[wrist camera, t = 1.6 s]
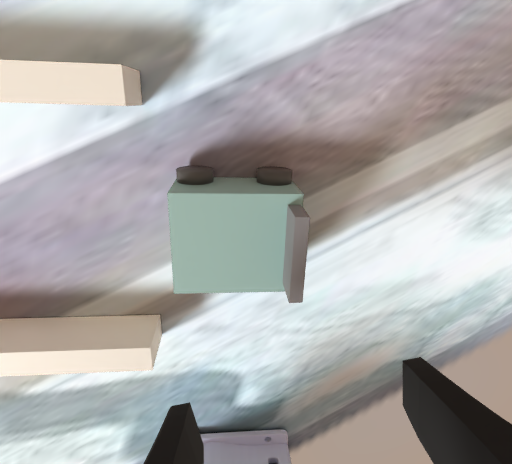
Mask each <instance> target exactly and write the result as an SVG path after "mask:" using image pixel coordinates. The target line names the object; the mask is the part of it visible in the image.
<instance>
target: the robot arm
mask: <svg viewBox="0 0 512 464" xmlns="http://www.w3.org/2000/svg"><path fill="white" fill-rule="evenodd" d="M403 406H404V409H405V411H406V413H407V415H408V418H409V420H410V422H411V424H412V426H413V428H414V430H415V432H416V434H417V436H418V438H419V440H420V442H421V443H422V445H423V446H424V448H425V450H426V451H427V453H428V455H429V457H430V458H431V460H432V462H433V463H434V464H512V424H510V423H509V422H507V421H506V420H504V419H503V418H501V417H500V416H499V415H497V414H496V413H494V412H493V411H491V410H490V409H489V408H487V407H486V406H485V405H483V404H482V403H480V402H479V401H478V400H476V399H475V398H473V397H472V396H470V395H469V394H468V393H467V392H465V391H464V390H463V389H461V388H460V387H459V386H457V385H456V384H455V383H453V382H452V381H451V380H449V379H448V378H447V377H446V376H444V375H443V374H442V373H440V372H439V371H438V370H437V369H435V368H434V367H433V366H431V365H430V364H429V363H428V362H426V361H425V360H424V359H422V358H421V357H419V358H414V359H409V360H404V361H403ZM144 464H291V460H290V454H289V449H288V434H287V431H286V430H283V429H277V430H260V431H243V432H226V433H209V434H200V432H199V429H198V426H197V423H196V420H195V417H194V414H193V411H192V408H191V405H190V403H185V404H180V405H175V406H171V408H170V409H169V411H168V413H167V416H166V418H165V420H164V422H163V425H162V427H161V429H160V431H159V433H158V435H157V438H156V440H155V442H154V444H153V446H152V448H151V450H150V452H149V454H148V456H147V458H146V460H145V462H144Z"/></svg>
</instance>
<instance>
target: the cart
mask: <svg viewBox="0 0 512 464" xmlns="http://www.w3.org/2000/svg"><path fill="white" fill-rule="evenodd" d="M176 171H177V179H176V180H175V182H174V183H173V185H172V187H171V188H170V190H169V191H168V193H167V195H168V210H169V225H170V241H171V256H172V271H173V286H174V294H185V293H233V292H281V291H285V292H286V295H287V298H288V301H289V303H300V302H302V301H303V289H304V278H305V267H306V256H307V245H308V234H309V223H310V217H309V215H308V214H307V213H306V211H305V210H304V209H303V196H304V194H303V193H302V192H301V190H300V189H299V188H298V187H297V186H296V185H295V184H294V182H293V181H292V170H291V169H287V168H281V167H262V168H258V169H257V178H233V177H213V168H210V167H205V166H185V167H179V168H177V169H176Z"/></svg>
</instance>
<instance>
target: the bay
mask: <svg viewBox="0 0 512 464" xmlns="http://www.w3.org/2000/svg"><path fill="white" fill-rule="evenodd" d="M0 102H11V103H45V104H80V105H114V106H135V105H142V95H141V83H140V71H138V70H135V69H132V68H130V67H127V66H124V65H122V64H97V63H72V62H47V61H22V60H0ZM161 337H162V330H161V318H160V315H128V316H90V317H52V318H14V319H0V376H22V375H47V374H71V373H96V372H120V371H144V370H153V366H154V363H155V359H156V355H157V351H158V348H159V344H160V340H161Z"/></svg>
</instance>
